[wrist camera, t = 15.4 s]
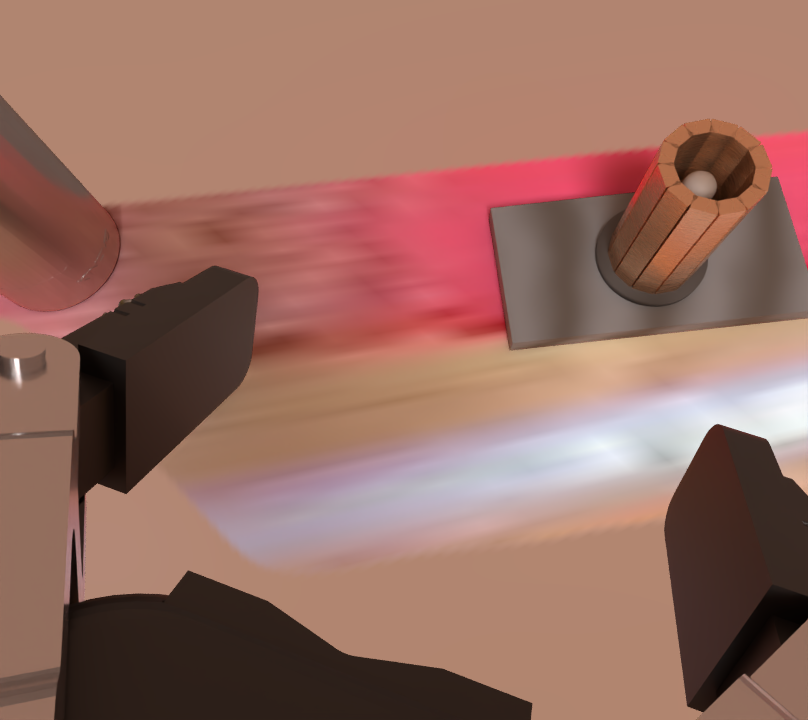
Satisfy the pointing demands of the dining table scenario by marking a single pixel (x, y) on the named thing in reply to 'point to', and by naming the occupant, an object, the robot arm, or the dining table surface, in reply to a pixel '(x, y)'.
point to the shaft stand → (620, 304)
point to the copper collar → (687, 205)
